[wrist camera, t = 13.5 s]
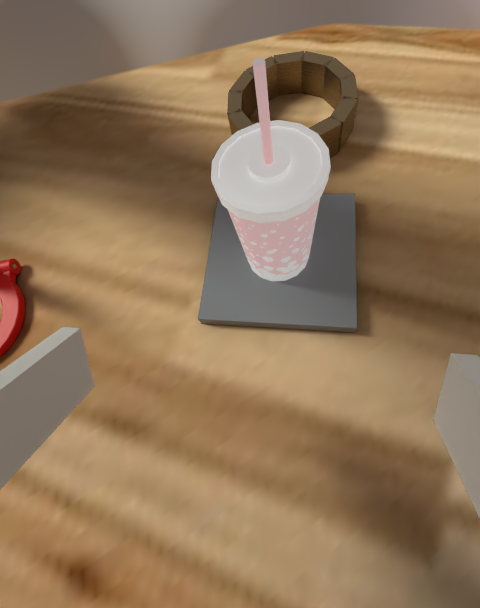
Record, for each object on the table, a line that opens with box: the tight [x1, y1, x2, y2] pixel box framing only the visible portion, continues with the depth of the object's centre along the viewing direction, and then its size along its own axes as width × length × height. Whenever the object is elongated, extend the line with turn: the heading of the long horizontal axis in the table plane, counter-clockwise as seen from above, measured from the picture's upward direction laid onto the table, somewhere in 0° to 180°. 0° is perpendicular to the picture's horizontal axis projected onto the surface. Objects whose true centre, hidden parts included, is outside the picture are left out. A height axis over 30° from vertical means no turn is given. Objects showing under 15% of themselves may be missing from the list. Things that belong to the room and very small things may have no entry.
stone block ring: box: [227, 51, 358, 157], centre depth 30 cm, size 11×11×3 cm
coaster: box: [198, 194, 357, 332], centre depth 26 cm, size 11×11×1 cm
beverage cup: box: [211, 58, 331, 281], centre depth 19 cm, size 6×6×14 cm
